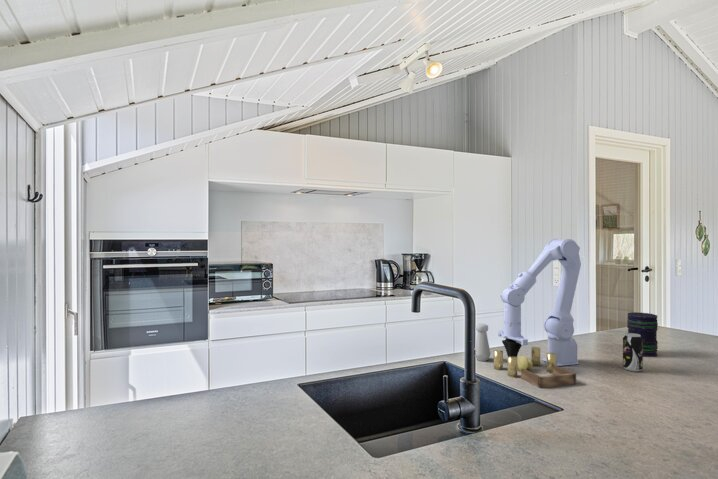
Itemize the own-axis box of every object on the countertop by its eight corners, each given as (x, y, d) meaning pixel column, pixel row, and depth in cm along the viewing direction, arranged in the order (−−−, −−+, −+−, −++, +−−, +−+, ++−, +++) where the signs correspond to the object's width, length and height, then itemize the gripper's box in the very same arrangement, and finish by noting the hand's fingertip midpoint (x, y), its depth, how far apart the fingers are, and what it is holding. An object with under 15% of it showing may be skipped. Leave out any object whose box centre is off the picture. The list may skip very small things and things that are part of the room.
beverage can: (639, 373, 144) (639, 337, 144) (620, 369, 149) (620, 334, 149) (645, 370, 148) (645, 334, 148) (626, 366, 152) (626, 331, 152)
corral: (555, 374, 144) (555, 365, 144) (575, 383, 135) (575, 373, 135) (521, 378, 140) (521, 369, 140) (539, 387, 131) (539, 377, 131)
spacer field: (536, 363, 156) (536, 346, 156) (558, 372, 146) (558, 354, 146) (492, 367, 151) (492, 350, 151) (511, 377, 141) (511, 358, 141)
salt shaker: (488, 357, 164) (488, 322, 163) (491, 362, 158) (492, 326, 158) (472, 357, 164) (472, 322, 164) (475, 361, 159) (475, 325, 158)
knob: (525, 373, 145) (524, 358, 145) (513, 369, 150) (513, 354, 150) (535, 371, 147) (535, 356, 147) (524, 367, 152) (524, 352, 152)
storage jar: (657, 352, 170) (657, 313, 170) (658, 358, 162) (658, 318, 162) (627, 348, 175) (627, 311, 175) (626, 354, 167) (626, 315, 167)
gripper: (490, 319, 161) (490, 356, 161) (515, 327, 147) (515, 367, 147) (507, 318, 163) (507, 354, 163) (533, 326, 149) (533, 366, 149)
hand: (512, 360), depth 155 cm, fingers closed
